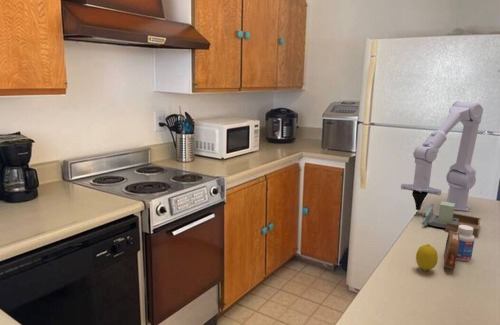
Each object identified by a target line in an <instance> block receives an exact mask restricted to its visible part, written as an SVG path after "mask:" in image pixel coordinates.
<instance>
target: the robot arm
mask: <svg viewBox="0 0 500 325" xmlns="http://www.w3.org/2000/svg"><path fill="white" fill-rule="evenodd" d="M483 113H484V108H483V106H482V105H481V103H479V102H468V101H467V102H466V101H459V100H457V101H454V102H453V103H452V105H451V106H450V107H449V114H448V115H447V117H445V119H444V121H443V123H442V124H441V125H440V126H439V128H438V130H433V131H432V132H431V133H430V135H428V137H427V138H426V139H425V140H424V142H423V143H422V144H420V145H418V146H416V148H414V151H413V158H414V163H415V167H414V168H415V169H414V176H413V184H411V183H409V184H407V183H401V184H400V190H405V191H406V190H407V191H412V192H411V195H412V197H413V200H414V203H415V204H414V205H415V210H417V211H421V207H422V206H423V203H424V201H425V198H426V197H427V196H428V194H431V195H435V196H441V195H442V189H438V188H434V187H430V183H431V182H430V181H431V177H432V176H431V174H432V168H433V167H432V166H433V162H434V161H435V160H436V159H437V156H438V153H439V151H440V148H442V146H443V144H445V142H446V141H447V135H448V134H449V133H450V132H451V131H452V130H453V129H454V128H455V127H456V125H458V123H459V122H460V123H461V124H462V125H463V128H462V131H461V132H462V133H461V137H460V140H459V142H460V143H459V147H458V152H457V157H456V162H455V163H453V164H451V165H449V169H448V172H447V173H446V176H445V177H446V182H447V183H448V186H449V188H448V192H447V198H446V201H443V202H449V203H455V206H454V211H455V210H457V211H465V212H469V211H470V210H469V208H468V206H467V205H468V200H469V193H470V190H471V189H472V188H473V187H474V186H475V184H476V180H477V178H476V173H477V171H476V170H475V168H474V167H473V166H472V165H471V164H472V160H473V155H474V151H475V146H476V142H477V137H478V133H479V127H480V124H481V121H482V118H483Z"/></svg>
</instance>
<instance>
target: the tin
mask: <svg viewBox="0 0 500 325" xmlns="http://www.w3.org/2000/svg"><path fill="white" fill-rule="evenodd" d="M458 251H459V233H457V232H453V231H449V232H448V234H447V238H446V242H445V249H444V253H443V268H448V269H452V270H454V269H455V267H456V261H457V259H456V257H457V255H458Z"/></svg>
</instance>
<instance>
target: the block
mask: <svg viewBox="0 0 500 325" xmlns="http://www.w3.org/2000/svg"><path fill="white" fill-rule="evenodd" d="M454 206H455V203H449V202H444V201H440V204H439V208H438V214H437V215H438V222H439V223H444V224H447V223H452V220H453V213H454V212H455V210H454Z"/></svg>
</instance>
